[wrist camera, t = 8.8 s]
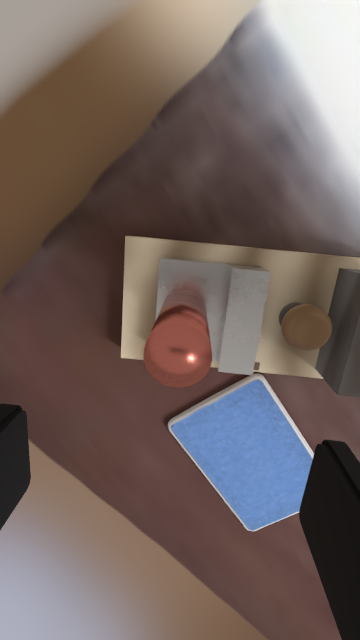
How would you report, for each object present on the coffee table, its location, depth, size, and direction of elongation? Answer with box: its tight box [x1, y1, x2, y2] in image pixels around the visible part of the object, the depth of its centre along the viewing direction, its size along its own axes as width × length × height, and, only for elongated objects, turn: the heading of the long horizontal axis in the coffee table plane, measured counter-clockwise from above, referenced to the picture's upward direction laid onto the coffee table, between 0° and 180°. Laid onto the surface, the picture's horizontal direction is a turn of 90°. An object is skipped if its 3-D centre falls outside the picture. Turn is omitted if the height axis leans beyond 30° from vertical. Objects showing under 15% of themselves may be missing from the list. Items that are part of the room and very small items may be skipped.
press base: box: [121, 236, 360, 397], centre depth 27 cm, size 23×12×7 cm, turn 85°
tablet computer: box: [168, 373, 314, 531], centre depth 36 cm, size 19×13×1 cm, turn 34°
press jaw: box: [143, 257, 271, 387], centre depth 23 cm, size 9×9×12 cm
